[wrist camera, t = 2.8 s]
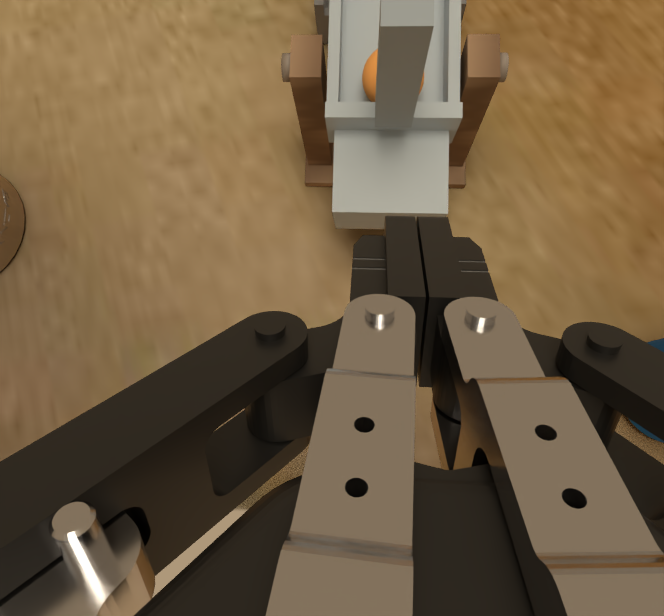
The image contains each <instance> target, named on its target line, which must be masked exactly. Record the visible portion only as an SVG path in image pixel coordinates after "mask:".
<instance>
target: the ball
mask: <svg viewBox="0 0 664 616" xmlns="http://www.w3.org/2000/svg"><path fill="white" fill-rule="evenodd" d="M377 55H378V49H377V50H375V51H374V52H373V53H372V54H371V55H370V57H369V58H368V59H367V61H366V63H365V66H364V69H363V74H362V83H363V88H364V91H365V93H366V95H367V97H368V98H369V100H370V101H371V102H375V95H376V74H377ZM423 84H424V73H423V77H422V82H421V86H420V90H419V94H420V92H421V90H422V87H423Z"/></svg>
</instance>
